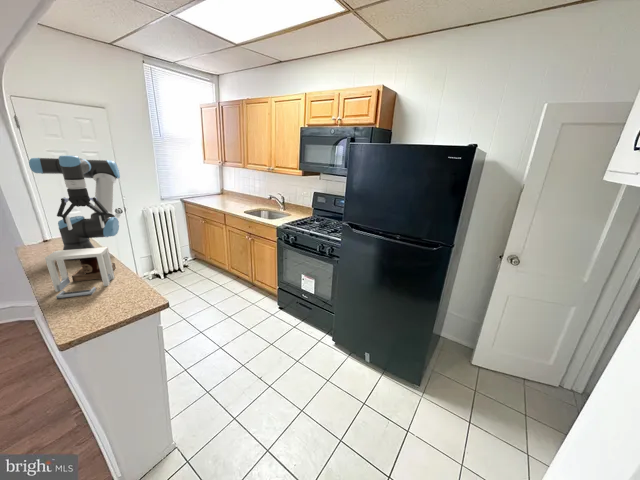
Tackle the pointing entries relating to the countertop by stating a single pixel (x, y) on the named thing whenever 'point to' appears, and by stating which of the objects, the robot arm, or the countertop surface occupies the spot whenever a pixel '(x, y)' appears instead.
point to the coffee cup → (90, 265)
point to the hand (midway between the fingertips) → (87, 228)
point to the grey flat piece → (75, 293)
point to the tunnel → (75, 254)
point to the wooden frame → (80, 276)
